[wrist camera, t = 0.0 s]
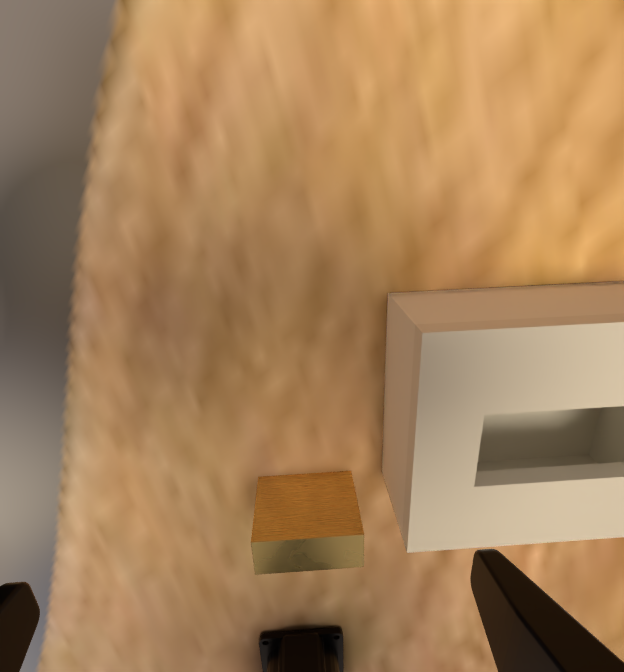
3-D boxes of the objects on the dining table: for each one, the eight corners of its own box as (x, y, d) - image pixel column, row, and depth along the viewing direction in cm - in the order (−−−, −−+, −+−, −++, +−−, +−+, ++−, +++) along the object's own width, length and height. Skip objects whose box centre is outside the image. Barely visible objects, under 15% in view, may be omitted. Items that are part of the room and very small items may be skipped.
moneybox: (591, 458, 26) (673, 533, 20) (381, 471, 26) (407, 552, 20) (640, 280, 22) (761, 314, 16) (387, 292, 21) (422, 332, 16)
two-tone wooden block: (350, 498, 26) (363, 566, 22) (261, 504, 26) (255, 574, 22) (350, 470, 26) (364, 534, 21) (258, 476, 25) (250, 542, 21)
